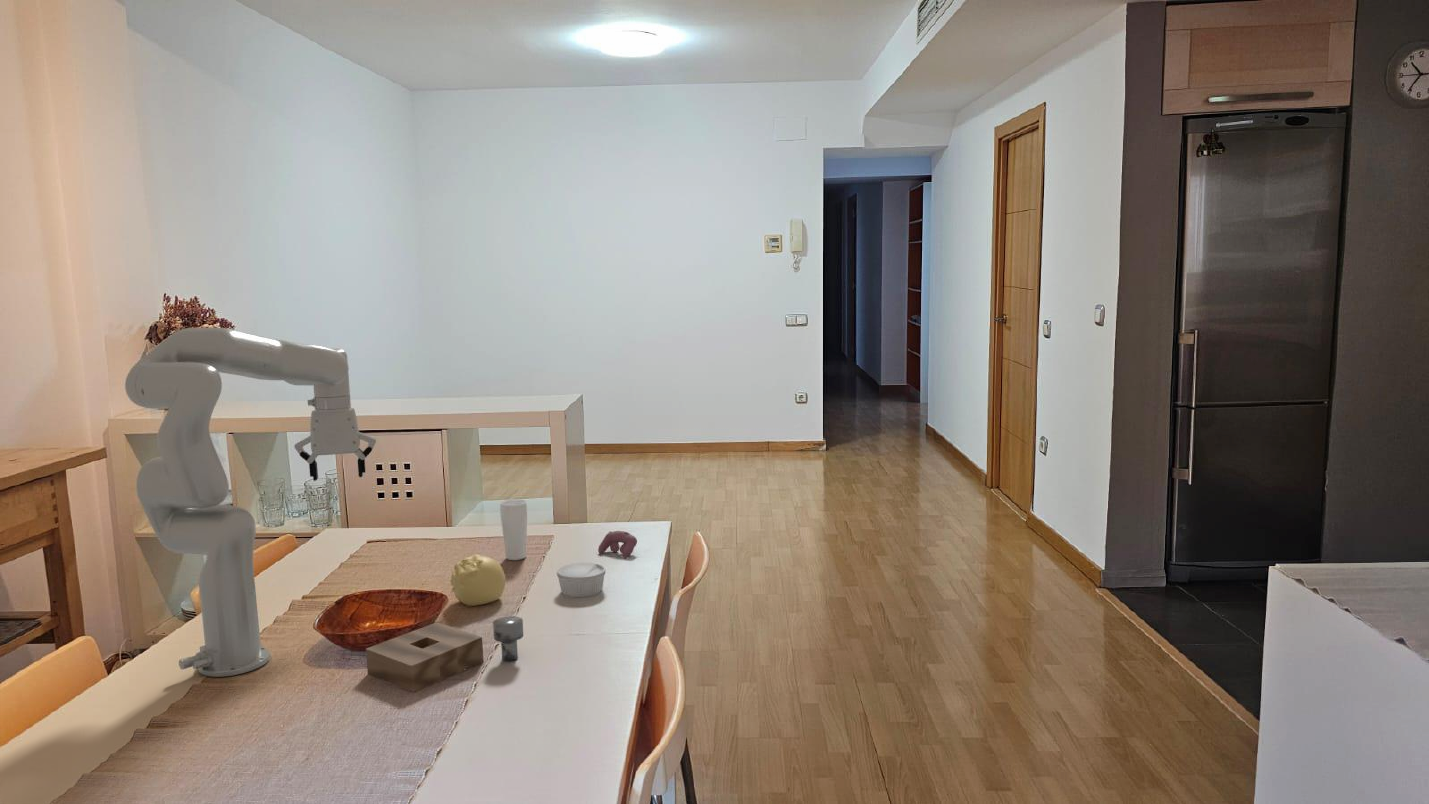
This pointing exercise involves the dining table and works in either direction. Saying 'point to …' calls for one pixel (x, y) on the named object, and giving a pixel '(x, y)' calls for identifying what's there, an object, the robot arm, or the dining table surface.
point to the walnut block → (424, 656)
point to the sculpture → (477, 580)
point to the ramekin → (581, 579)
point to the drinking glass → (514, 528)
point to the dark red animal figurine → (615, 538)
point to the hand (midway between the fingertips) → (338, 477)
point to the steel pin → (508, 636)
